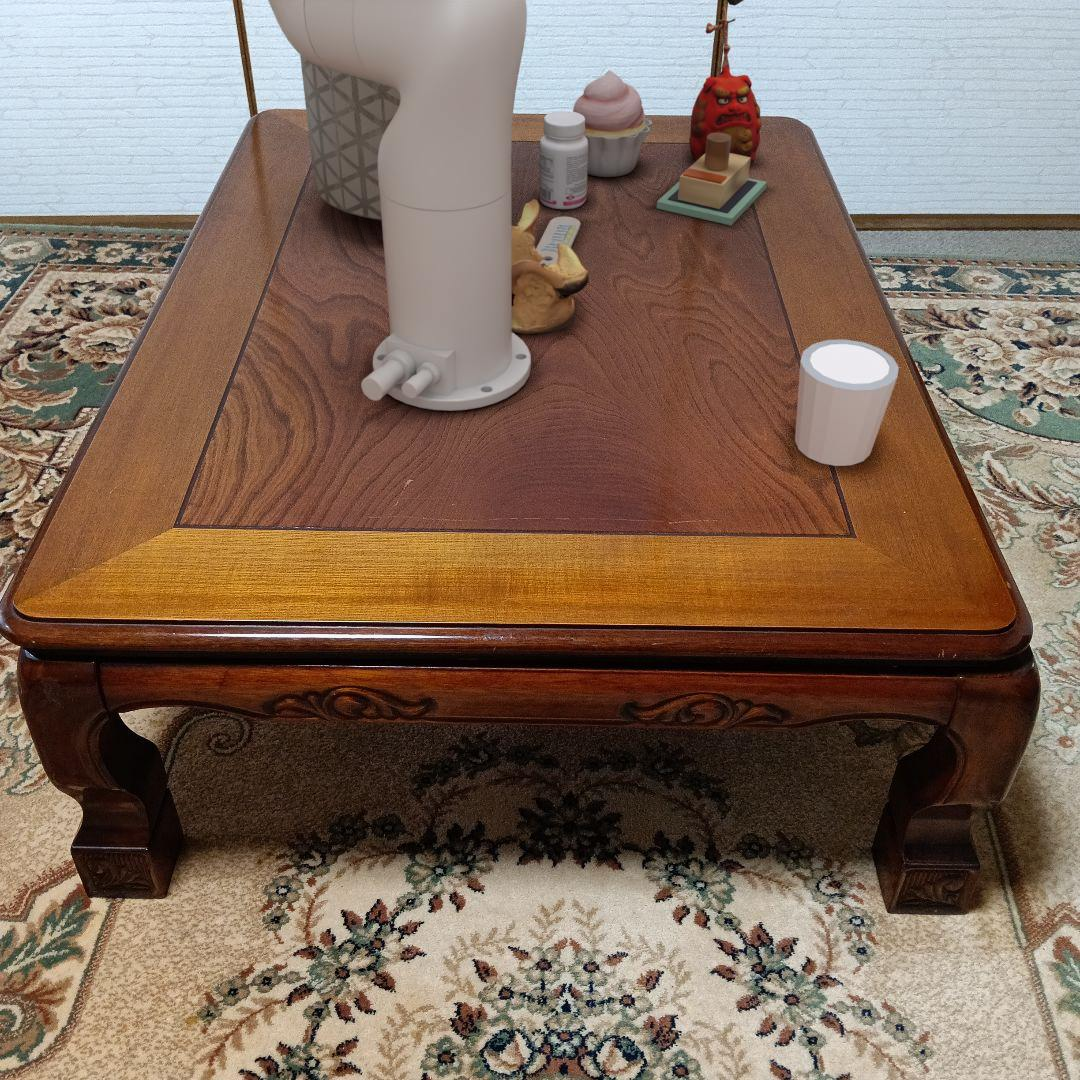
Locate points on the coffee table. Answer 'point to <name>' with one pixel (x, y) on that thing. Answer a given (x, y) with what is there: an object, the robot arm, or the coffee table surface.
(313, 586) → the coffee table surface
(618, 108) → the cupcake
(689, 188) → the stamp
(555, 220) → the keychain
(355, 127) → the planter
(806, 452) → the white cylinder
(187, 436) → the coffee table surface
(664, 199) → the ink pad
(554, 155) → the pill bottle
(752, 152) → the red clay folk toy
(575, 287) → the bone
